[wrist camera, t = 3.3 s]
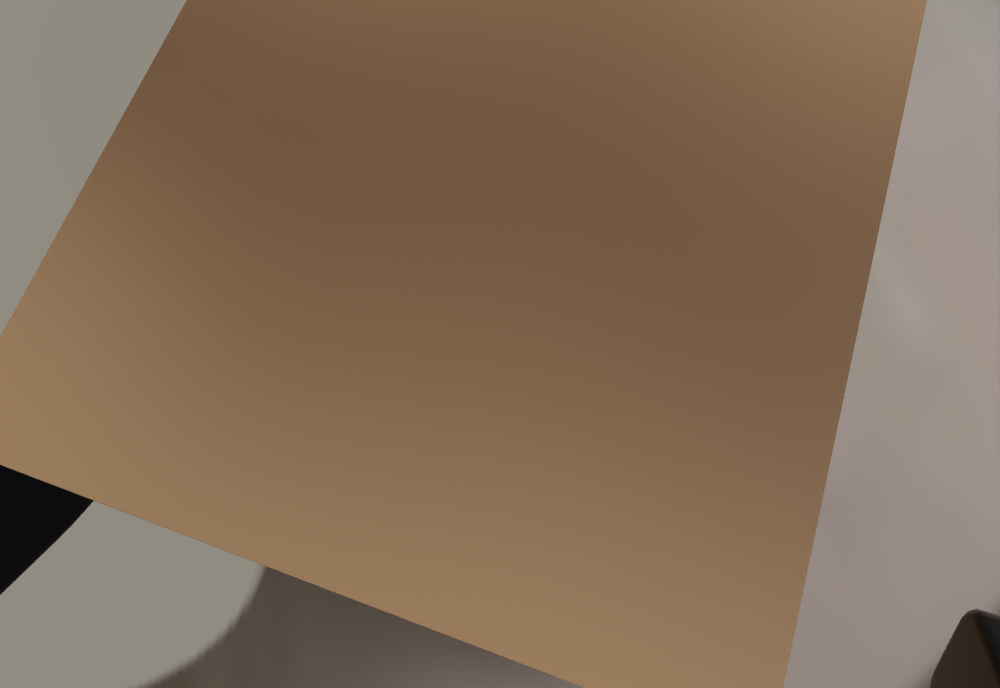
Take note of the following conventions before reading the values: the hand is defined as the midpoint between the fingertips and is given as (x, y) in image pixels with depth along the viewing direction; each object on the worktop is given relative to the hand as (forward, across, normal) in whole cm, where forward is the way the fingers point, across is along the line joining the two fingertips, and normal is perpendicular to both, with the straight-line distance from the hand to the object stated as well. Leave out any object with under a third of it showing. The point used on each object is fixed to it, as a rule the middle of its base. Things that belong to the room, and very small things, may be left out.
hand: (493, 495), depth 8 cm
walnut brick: (+7, 0, +5) cm, 9 cm away
